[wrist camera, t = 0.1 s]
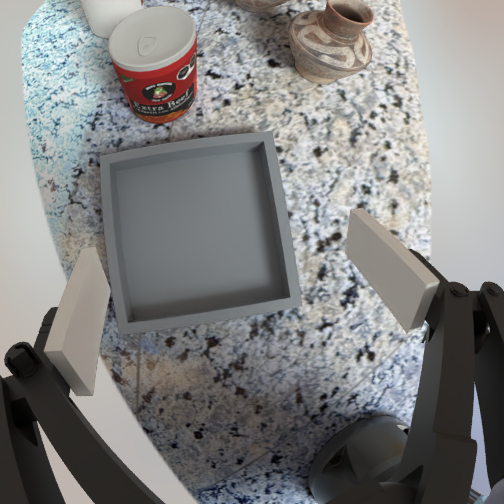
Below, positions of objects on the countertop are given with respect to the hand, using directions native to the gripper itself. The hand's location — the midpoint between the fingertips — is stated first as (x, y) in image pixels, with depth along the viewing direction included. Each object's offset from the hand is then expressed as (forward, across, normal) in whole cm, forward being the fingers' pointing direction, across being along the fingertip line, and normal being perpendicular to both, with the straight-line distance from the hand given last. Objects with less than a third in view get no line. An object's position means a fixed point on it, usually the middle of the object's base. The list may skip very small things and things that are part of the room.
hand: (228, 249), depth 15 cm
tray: (+14, +2, +6) cm, 16 cm away
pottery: (+30, -12, -14) cm, 35 cm away
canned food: (+24, +4, -6) cm, 25 cm away
